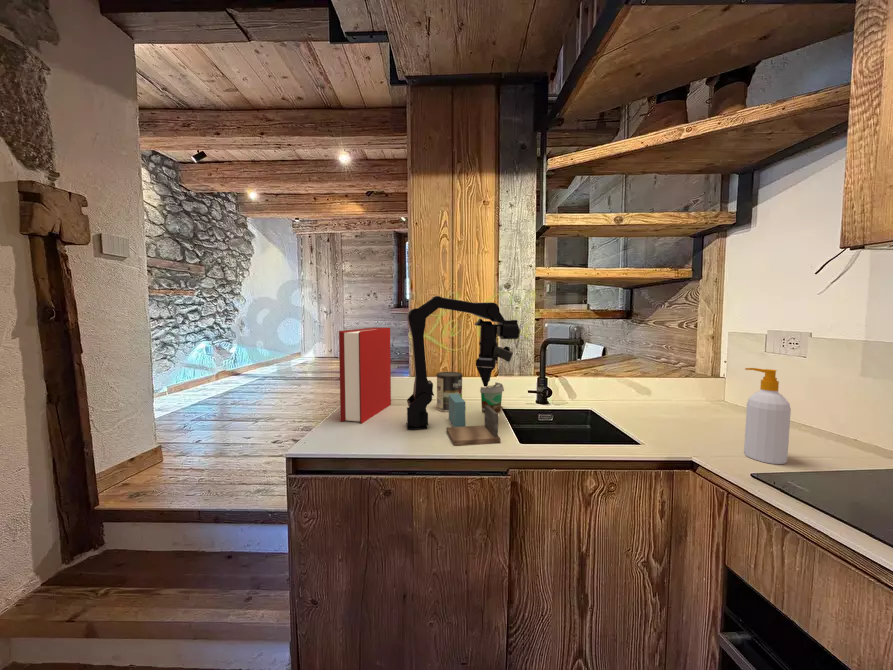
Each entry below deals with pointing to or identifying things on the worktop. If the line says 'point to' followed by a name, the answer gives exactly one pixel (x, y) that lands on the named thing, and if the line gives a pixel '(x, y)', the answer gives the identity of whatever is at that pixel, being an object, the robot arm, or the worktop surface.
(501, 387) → the food container
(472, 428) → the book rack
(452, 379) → the coffee can
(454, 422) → the teal book
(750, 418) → the soap bottle
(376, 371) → the book
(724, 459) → the worktop surface
